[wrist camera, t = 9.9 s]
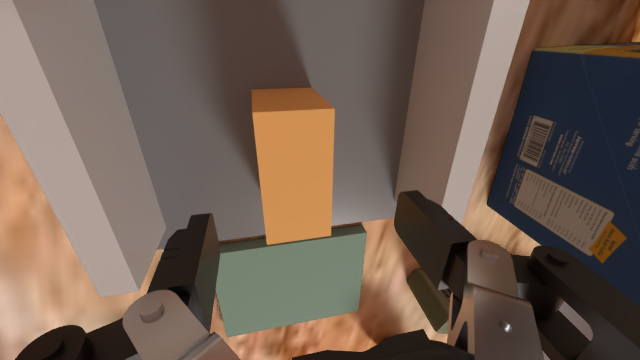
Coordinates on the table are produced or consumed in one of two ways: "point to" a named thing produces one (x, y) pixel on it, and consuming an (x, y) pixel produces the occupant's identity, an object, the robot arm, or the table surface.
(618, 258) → the protein box
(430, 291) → the handheld radio
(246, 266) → the green mat
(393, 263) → the table surface
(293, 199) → the orange block
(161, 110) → the holder board
